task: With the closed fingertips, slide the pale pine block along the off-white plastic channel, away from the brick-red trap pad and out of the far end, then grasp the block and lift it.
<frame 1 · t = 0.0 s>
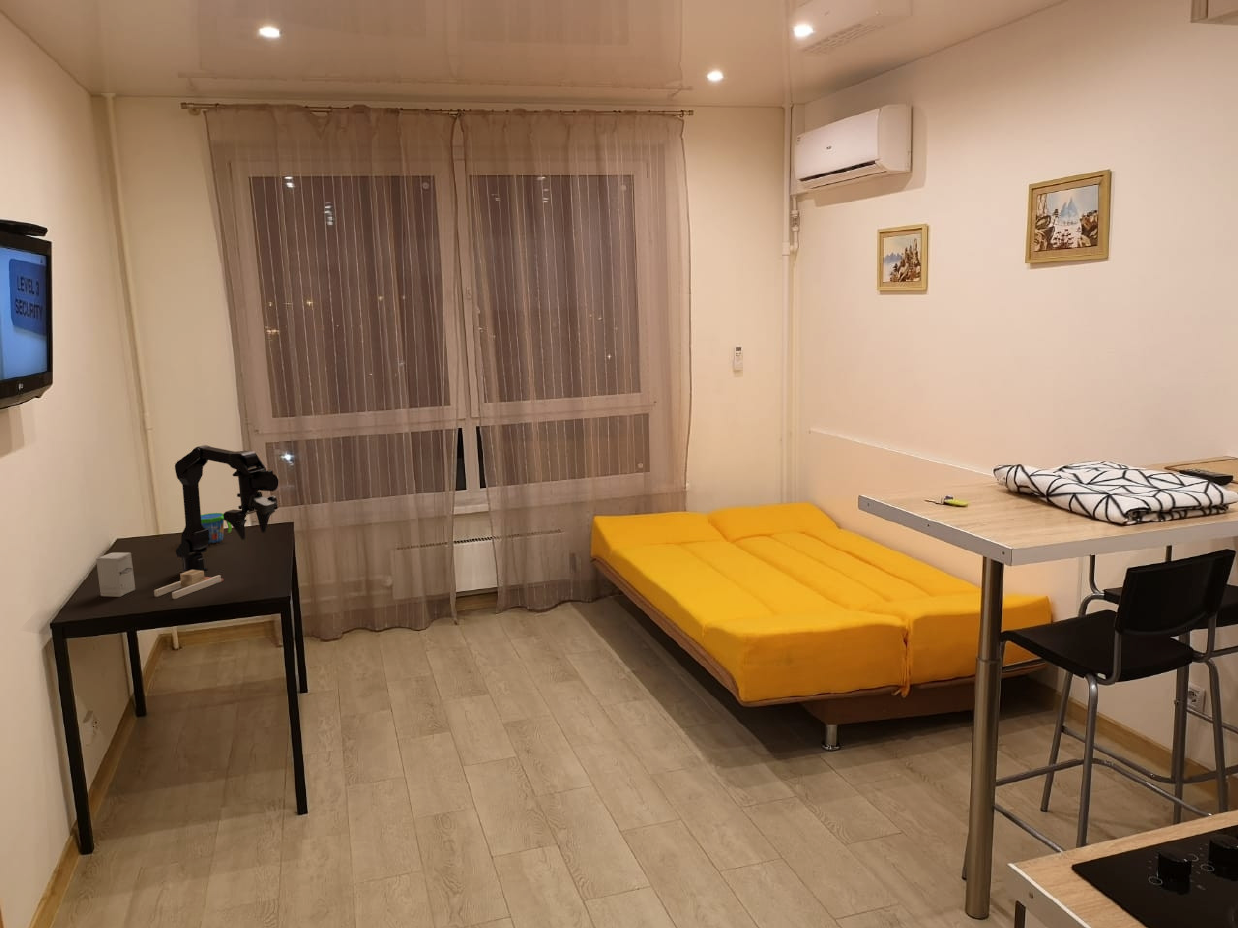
hand: (253, 535, 312), 15 cm above the table, fingers open, 9 cm apart
pine block: (193, 587, 308), on the table
channel: (182, 590, 304), on the table
snack cup: (212, 541, 366), on the table
supplement box: (118, 593, 304), on the table
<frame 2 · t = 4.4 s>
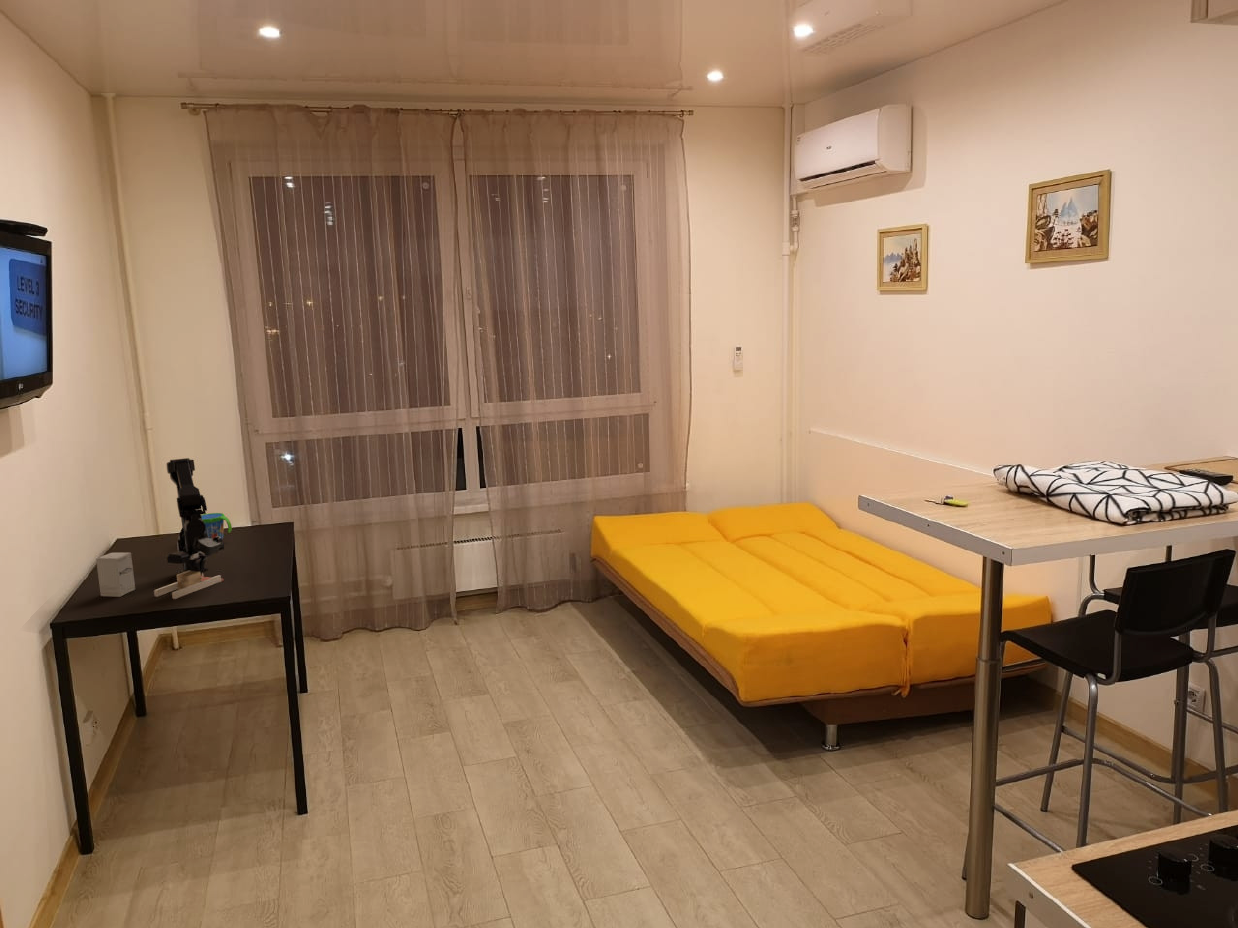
hand: (199, 576, 310), 3 cm above the table, fingers closed
pine block: (190, 588, 307), on the table, touching gripper
everything else where it was.
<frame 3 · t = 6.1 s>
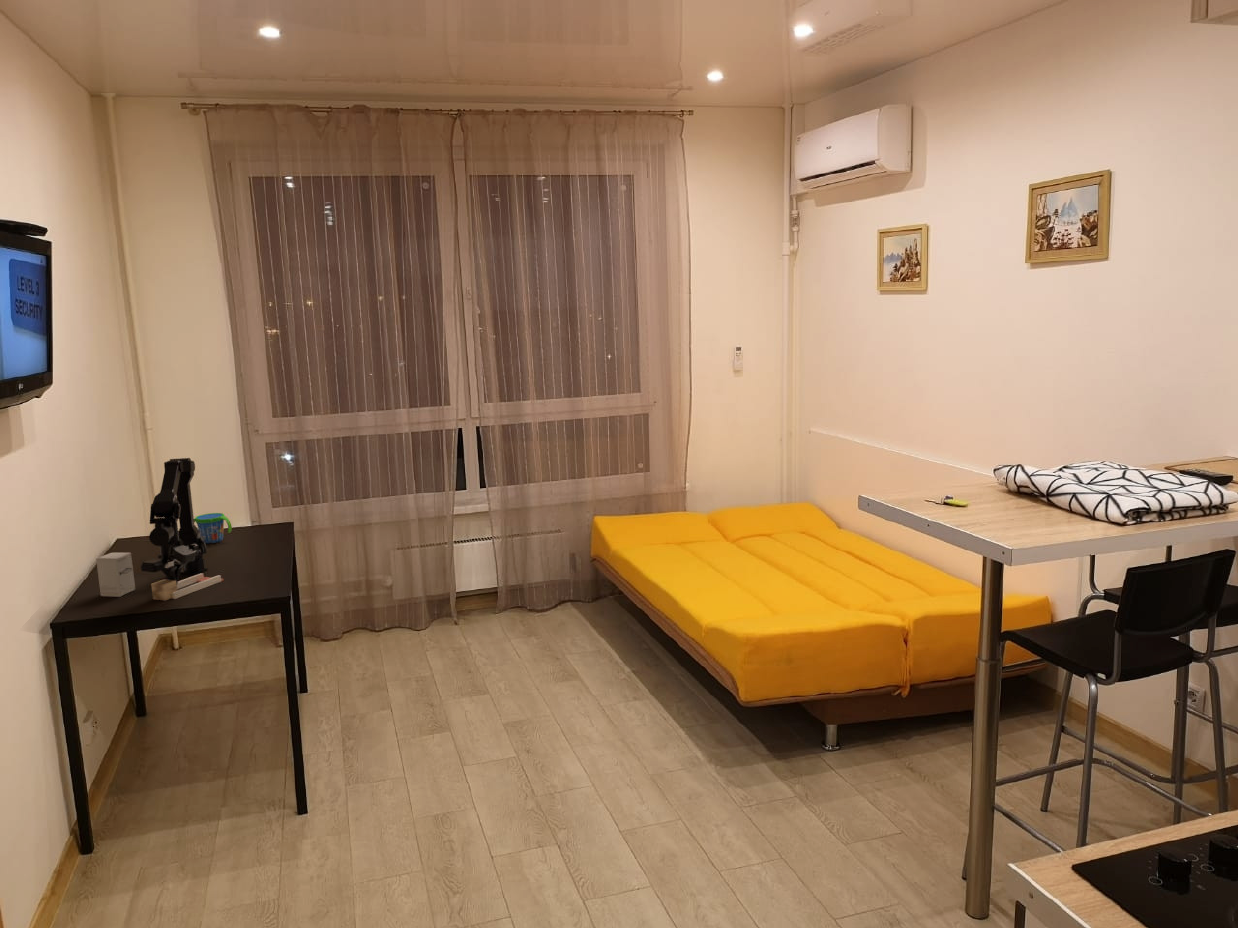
hand: (174, 585, 301), 3 cm above the table, fingers closed
pine block: (165, 597, 298), on the table, touching gripper
everything else where it was.
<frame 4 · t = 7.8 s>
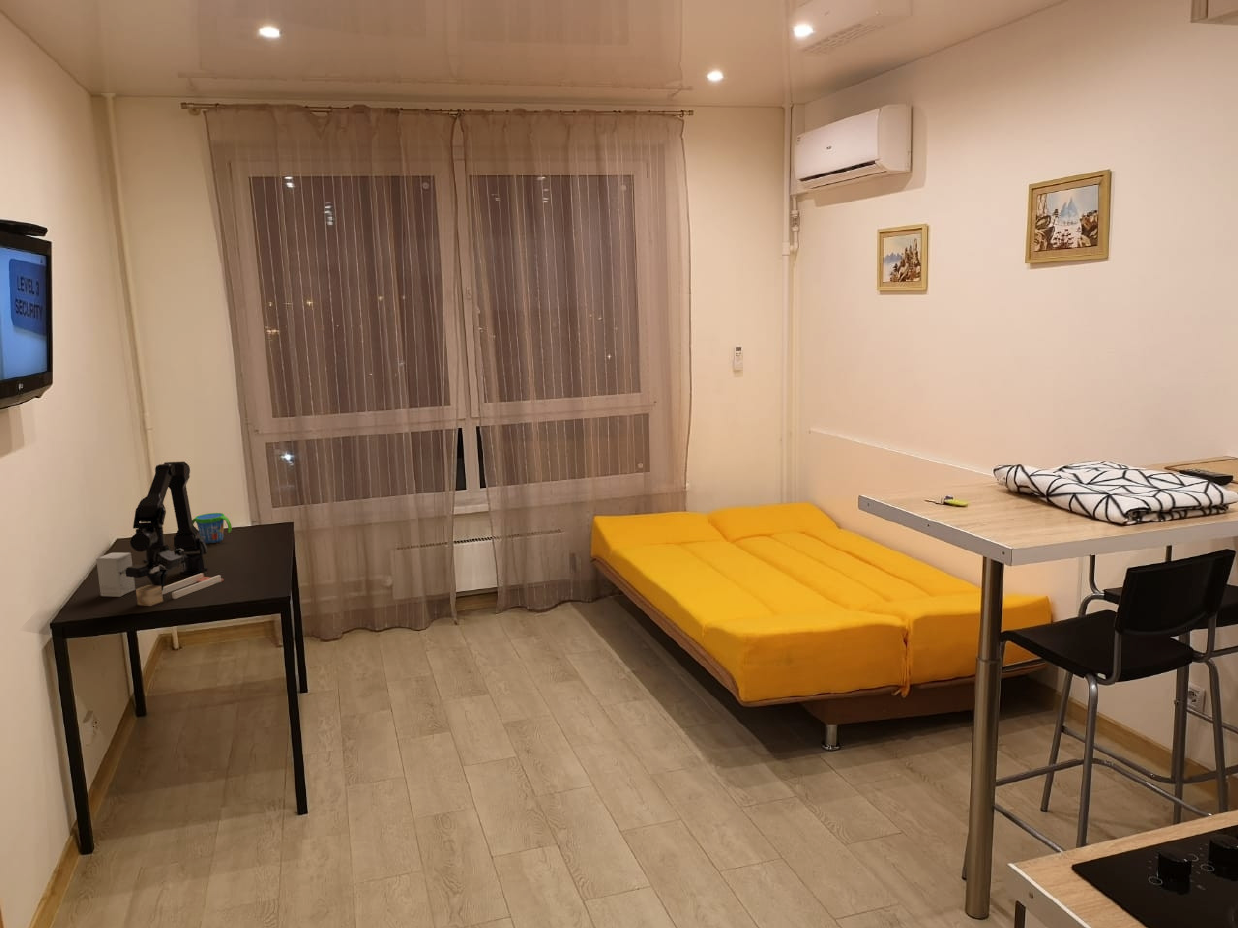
hand: (160, 591, 296), 3 cm above the table, fingers closed
pine block: (150, 602, 293), on the table, touching gripper
everything else where it was.
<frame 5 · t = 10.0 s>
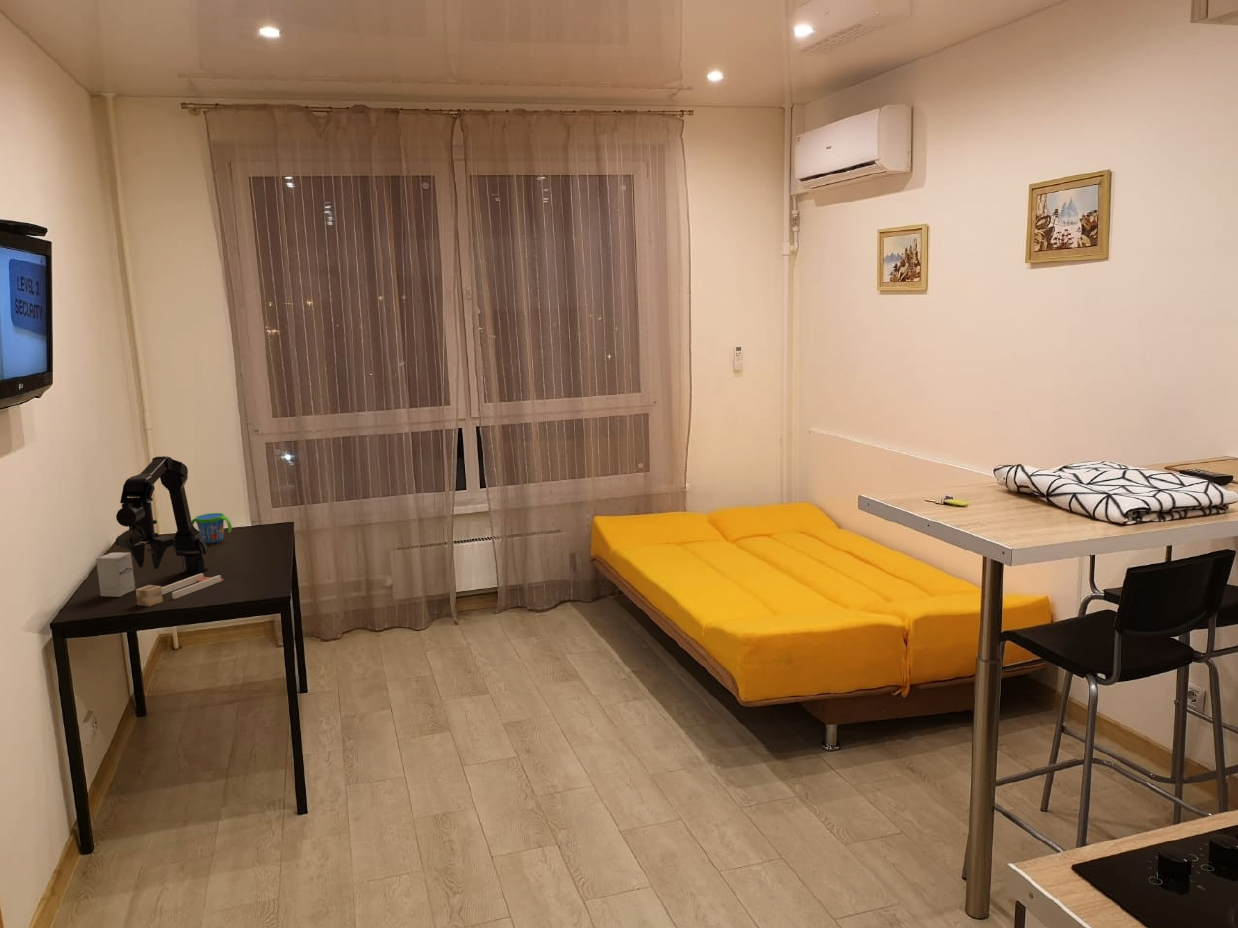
hand: (148, 567, 292), 11 cm above the table, fingers open, 6 cm apart
pine block: (150, 603, 293), on the table
everything else where it was.
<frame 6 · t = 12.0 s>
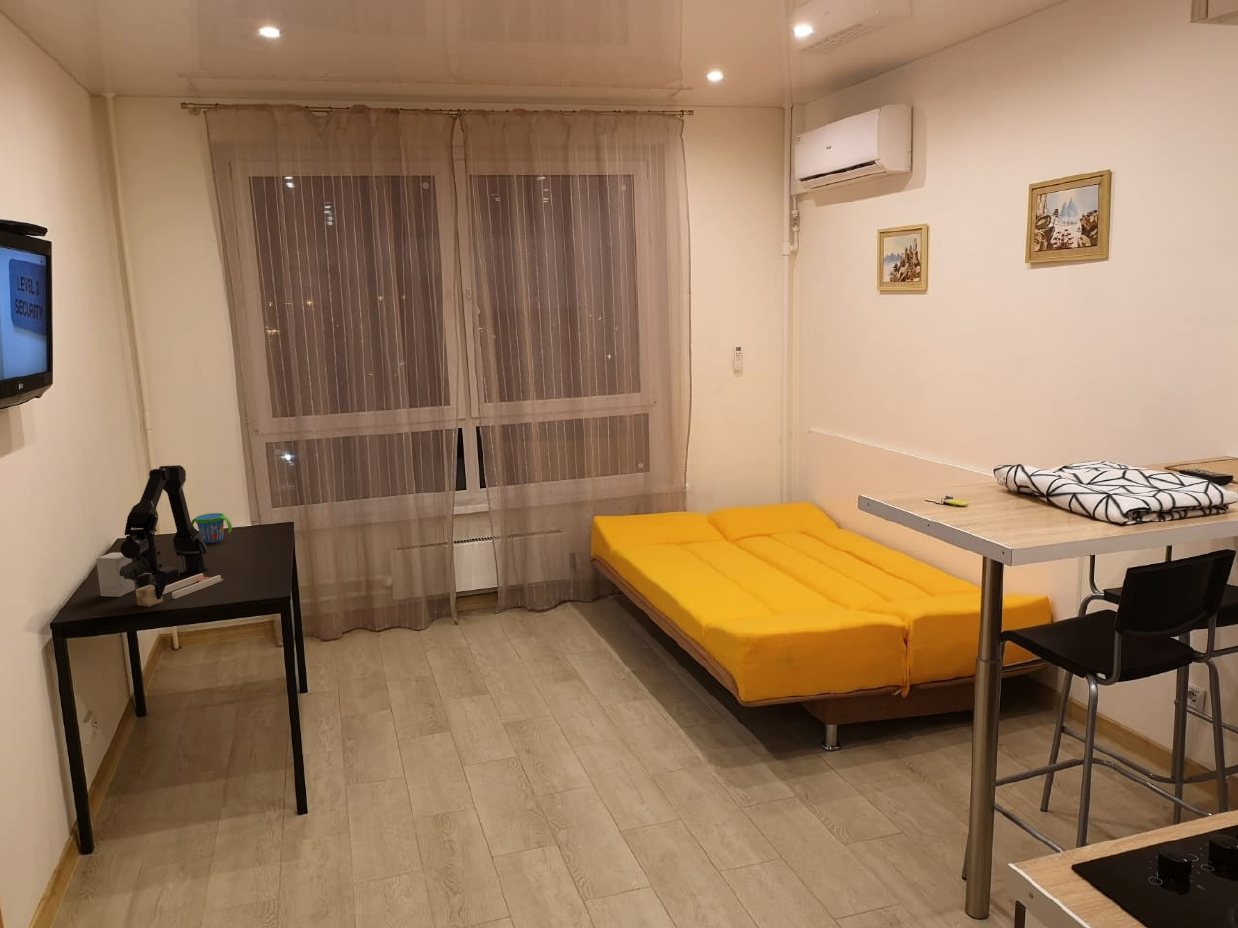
hand: (152, 598, 293), 1 cm above the table, fingers closed on pine block, 5 cm apart
pine block: (150, 603, 293), on the table, touching gripper
everything else where it was.
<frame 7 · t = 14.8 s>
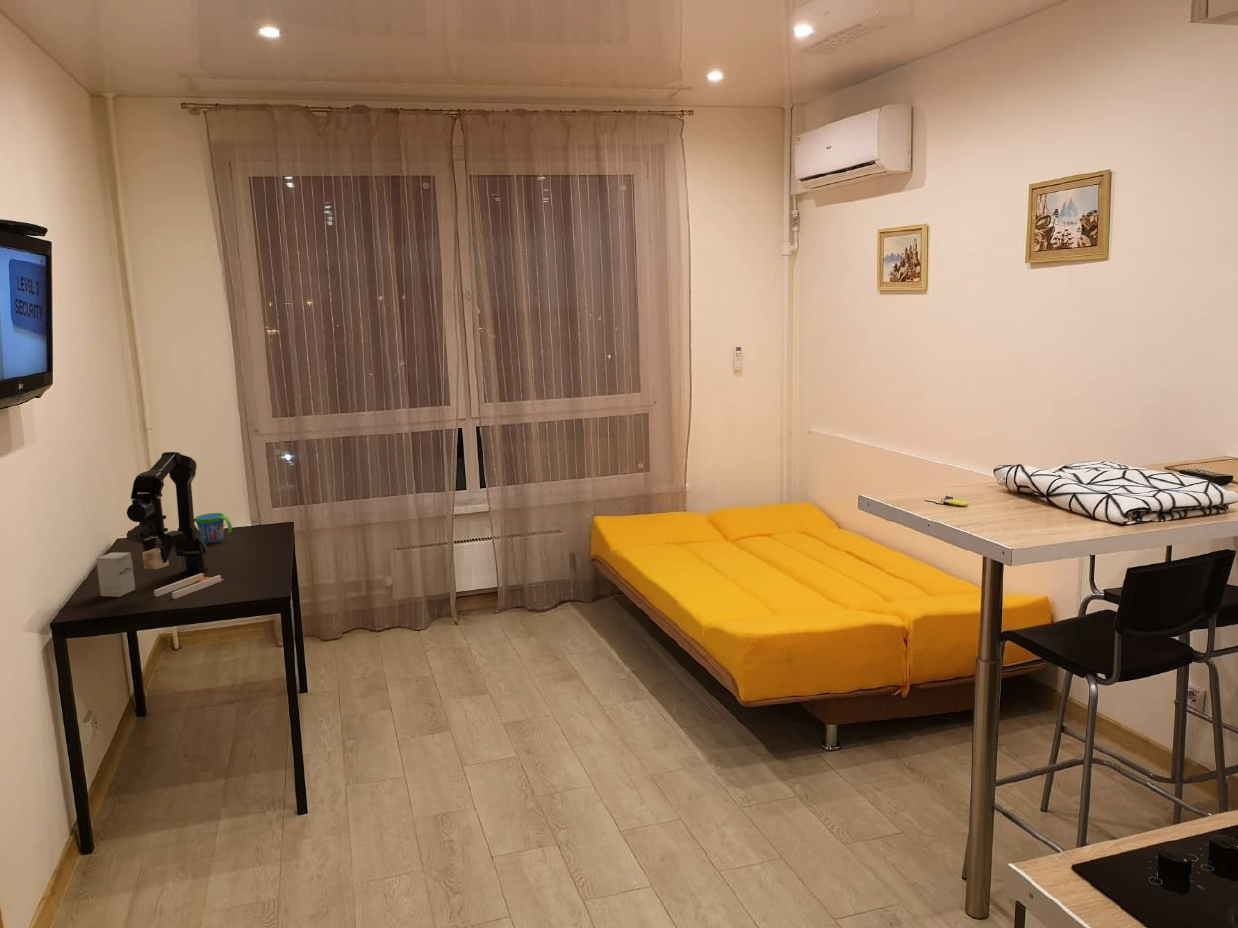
hand: (158, 561, 299), 11 cm above the table, fingers closed on pine block, 5 cm apart
pine block: (156, 566, 299), point 9 cm above the table, touching gripper
everything else where it was.
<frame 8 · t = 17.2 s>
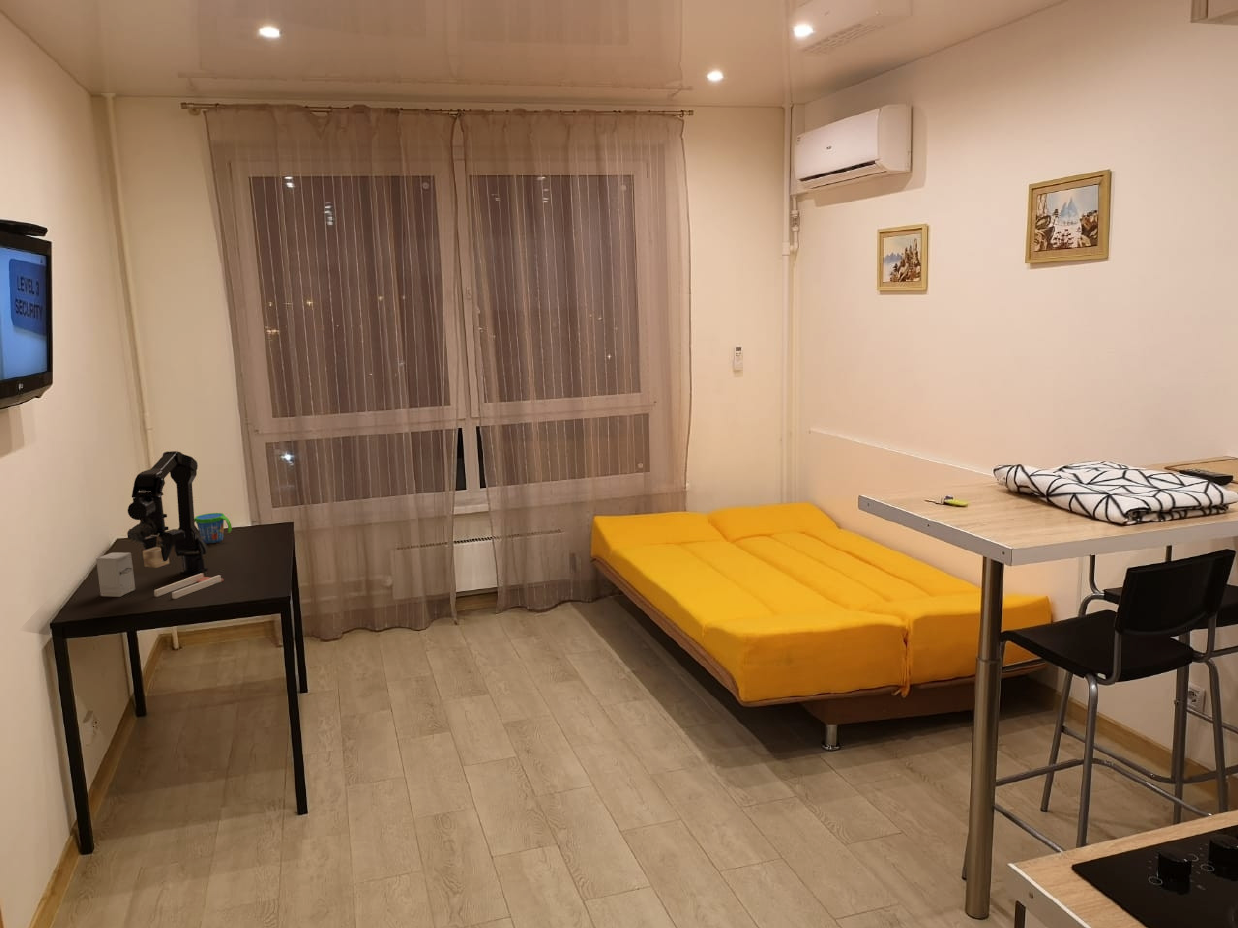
hand: (159, 560, 300), 11 cm above the table, fingers closed on pine block, 5 cm apart
pine block: (157, 564, 299), point 10 cm above the table, touching gripper
everything else where it was.
at the end: the gripper is holding pine block; pine block point 9.7 cm above the table; pine block moved 14.2 cm from its start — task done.
